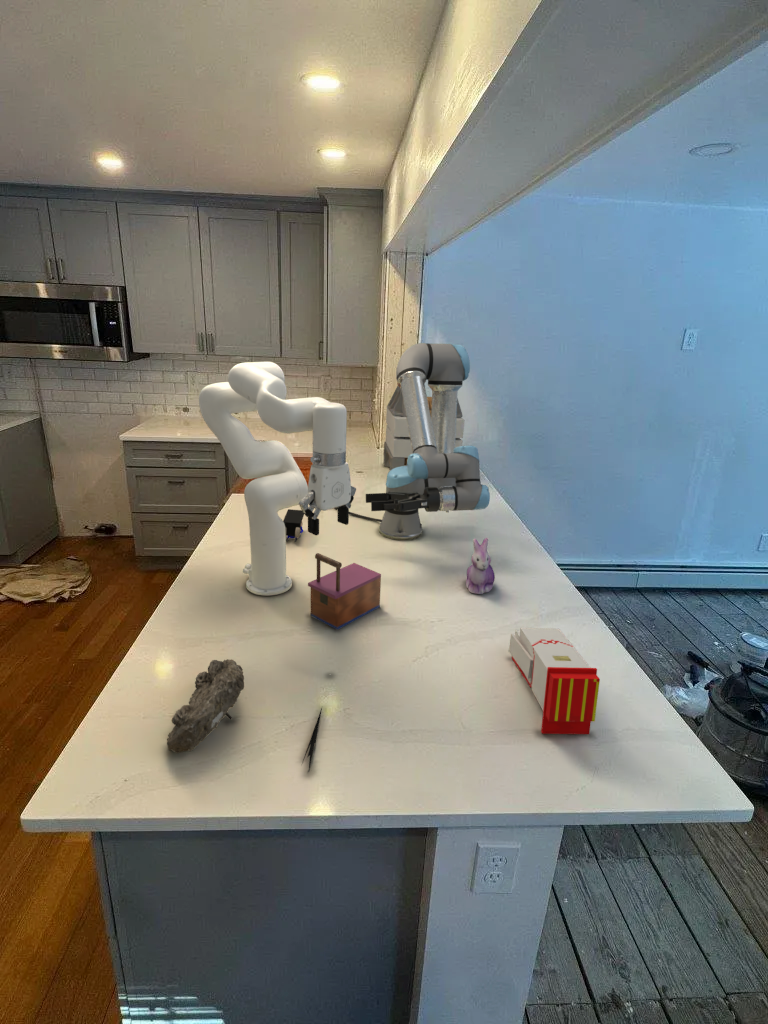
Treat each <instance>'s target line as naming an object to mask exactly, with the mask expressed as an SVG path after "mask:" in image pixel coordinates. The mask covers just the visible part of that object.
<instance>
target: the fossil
mask: <svg viewBox="0 0 768 1024" xmlns="http://www.w3.org/2000/svg"><path fill="white" fill-rule="evenodd" d="M243 670H244V669H243V667H242V665H240V664H237V662H236V661H235V660H234V659H232V658H231V659H227V658H226V659H224V660H223V661H222V660H217V659H212V660H211V661H210V663H209V665H208V666H207V671H201V672H199V673H198V674H197V675H196V676H195V680H194V684H195V685H194V687H195V689H194V690H193V693H192V694H191V697H190V698H189V700H188V704H184V705H182V706H181V707H180V709H177V710H176V711H175V713H174V715H173V716H172V718H171V723H172V724H173V727H172V730H171V731H170V732H168V734H167V738H166V741H167V742H166V745H167V749H168V750H169V751H173V752H174V753H176V754H178V753H182V752H188V751H189V752H192V751H193V750H195V748H196V747H197V746H199V744H200V743H201V742H203V741H204V740H205V739H206V738H207V737H208V736H209V735H210V734H211V733H212V732H214V730H215V729H217V727H218V726H219V724H220V722H221V721H222V720H223V719H224V718H225V716H226V717H227V719H229V720H233V717H232V715H230V714H229V710H230V709H231V708H234V706H235V704H236V703H237V702H238V699H239V697H240V695H241V693H242V691H243V690H245V689H244V688H245V675H244V671H243Z"/></svg>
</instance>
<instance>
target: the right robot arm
mask: <svg viewBox="0 0 768 1024" xmlns="http://www.w3.org/2000/svg"><path fill="white" fill-rule="evenodd" d="M469 356H470V355H469V352H468V351H467V349H466V348H465V347H464V346H463V345H461V344H456V343H429V342H428V343H427V342H419V343H418V342H417V343H415V344H412V345H411V346H409V347H408V348H406V350H405V351H404V352H402V354H401V356H400V357H399V360H398V362H397V365H396V369H395V379H396V385H397V386H399V387H400V388H401V390H402V395H403V401H404V407H405V412H406V418H407V424H408V429H409V435H410V440H411V446H412V452H413V454H410V455H409V456H408V459H407V465H404V466H401V467H397V468H394V469H392V470H390V469H389V470H388V472H387V475H386V480H385V492H378V493H377V492H375V493H374V492H373V493H365V503H366V504H370V507H371V512H384V513H383V515H382V519H381V518H374V517H370V516H365V515H362V514H359V513H355V512H351V511H349V516H354V517H357V518H360V519H364V520H368V521H373V522H379V525H378V533H379V534H380V535H381V536H382V537H385V538H387V539H389V540H395V541H410V540H415V539H418V538H420V537H421V536H422V535H423V523H421V518H420V515H419V510H420V509H424V510H425V512H426V513H435V512H436V513H437V512H438V511H439V512H445V513H447V514H449V512H452V511H453V512H455V511H457V512H458V511H478V510H485V509H486V508H487V507H489V504H490V502H491V501H490V500H491V494H490V488H489V486H488V485H486V484H483V483H482V482H481V471H480V456H479V455H480V454H479V450H478V447H477V446H474V445H462V446H459V447H456V448H455V435H456V414H457V398H458V391H459V390H460V389H461V388H462V387H463V382H465V381H466V380H467V379H468V378H469V376H470V375H469V374H470V372H471V371H470V370H471V362H470V357H469ZM426 382H427V386H428V387H429V388H430V390H431V397H432V408H431V416H430V410H429V405H428V400H427V397H428V395H427V390H426V385H425V383H426ZM335 510H338V507H336V508H335Z"/></svg>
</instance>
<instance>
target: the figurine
mask: <svg viewBox="0 0 768 1024" xmlns="http://www.w3.org/2000/svg"><path fill="white" fill-rule="evenodd" d="M472 544H473V553H472V555H471V559H470V561H471V565H470V566H469V567H468V568H467V570H466V579H465V587H466V589H467V590H468V592H469V593H472V594H476V595H477V594H478V595H483V594H485V593H489V592H490V591H491V590H492V589H493V588H494V587H493V586H494V584H495V579H496V577H495V576H496V575H495V570H494V568H493V566H492V565H491V562H492V559H491V555H490V553H489V550H488V547H489V538H488V537H485V538H484V539H483V541H482V543H481V544H480V543H479V540H478V539H477V538H473V540H472Z"/></svg>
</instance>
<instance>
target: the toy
mask: <svg viewBox="0 0 768 1024" xmlns="http://www.w3.org/2000/svg"><path fill="white" fill-rule="evenodd" d="M508 653H509V654H510V656H511V660H512V661H513V664H515V666H516V667H517V669H518V670H519V672H520V673H521V675H522V677H523V678H524V680H525V681H526V683H527V684H528V686H529V688H530V689H531V691H532V694H533V695H534V697H535V699H536V700H537V702H538V704H539V706H540V708H541V710H542V720H541V730H540V733H541V735H547V734H548V735H590V731H591V723H592V722H593V723H595V722H596V713H597V706H598V700H599V699H598V698H599V697H598V696H599V689H600V682H601V681H600V680H601V679H600V677H599V675H598V668H597V667H591V666H590V665H589V664H588V663H587V661H586V660H585V659H584V657H583V656H582V655H581V654H580V652H579V651H578V649H576V647H574V645H573V644H572V643H571V642H570V640H569V639H568V637H566V636H565V634H564V633H563V631H561V629H560V628H553V627H552V628H551V627H550V628H549V627H547V628H546V627H520V628H519V629H515V631H514V633H510V639H509V646H508Z"/></svg>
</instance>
